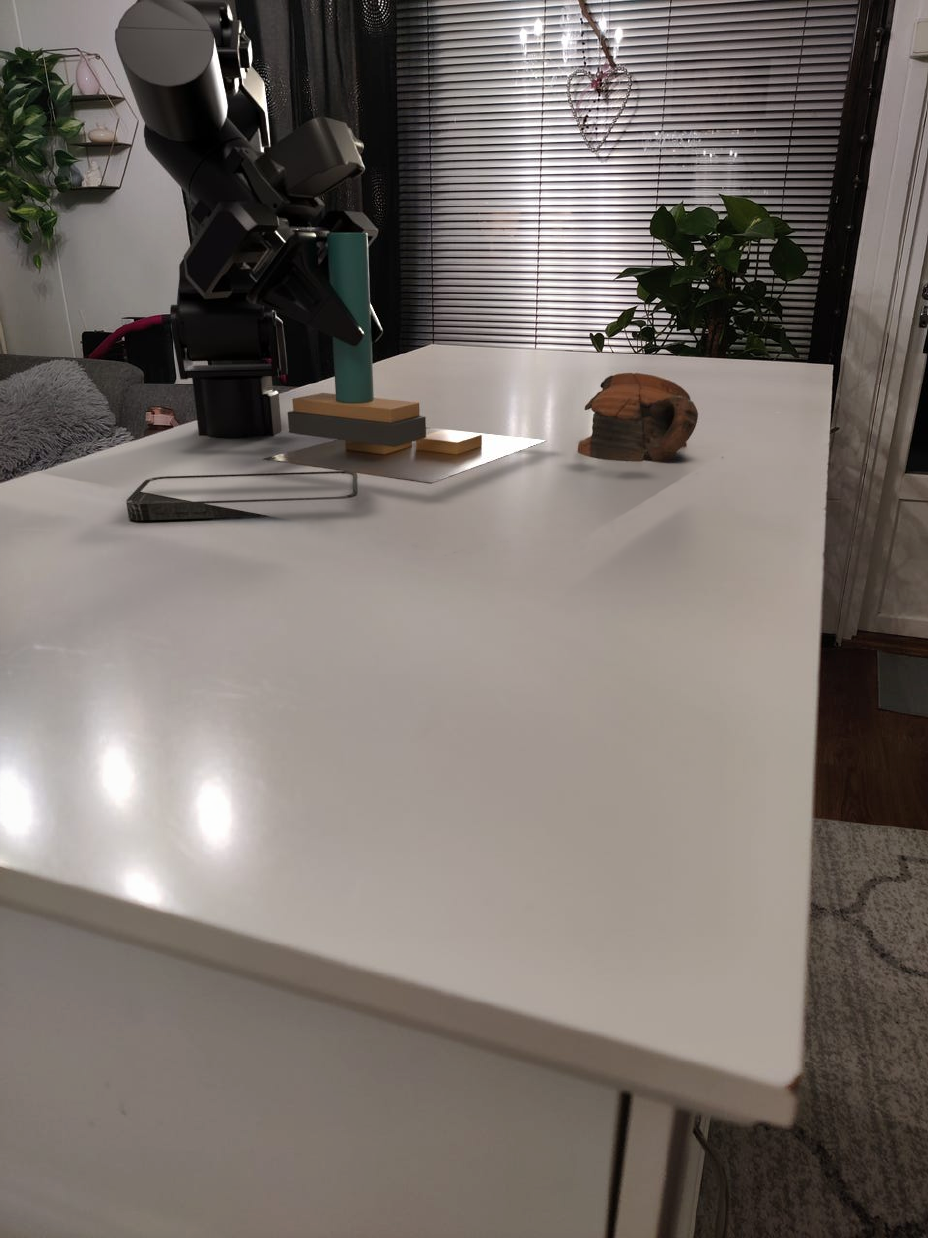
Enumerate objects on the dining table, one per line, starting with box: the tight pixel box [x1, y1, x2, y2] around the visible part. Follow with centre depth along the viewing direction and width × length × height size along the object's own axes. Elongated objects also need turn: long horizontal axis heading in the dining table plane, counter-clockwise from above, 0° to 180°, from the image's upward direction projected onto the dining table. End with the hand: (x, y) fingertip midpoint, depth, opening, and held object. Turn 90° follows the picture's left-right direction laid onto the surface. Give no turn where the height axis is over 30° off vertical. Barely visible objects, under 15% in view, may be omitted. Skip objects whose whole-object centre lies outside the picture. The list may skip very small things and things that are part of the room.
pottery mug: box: [577, 372, 699, 462], centre depth 71 cm, size 12×10×8 cm
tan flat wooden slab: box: [416, 429, 483, 455], centre depth 72 cm, size 4×4×1 cm
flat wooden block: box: [345, 440, 412, 455], centre depth 73 cm, size 4×4×1 cm
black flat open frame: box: [125, 470, 358, 521], centre depth 61 cm, size 8×1×15 cm
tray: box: [263, 427, 547, 485], centre depth 73 cm, size 16×18×1 cm
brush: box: [287, 233, 427, 447], centre depth 63 cm, size 10×4×14 cm, turn 58°
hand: (369, 339), depth 63 cm, fingers closed on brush, 3 cm apart
